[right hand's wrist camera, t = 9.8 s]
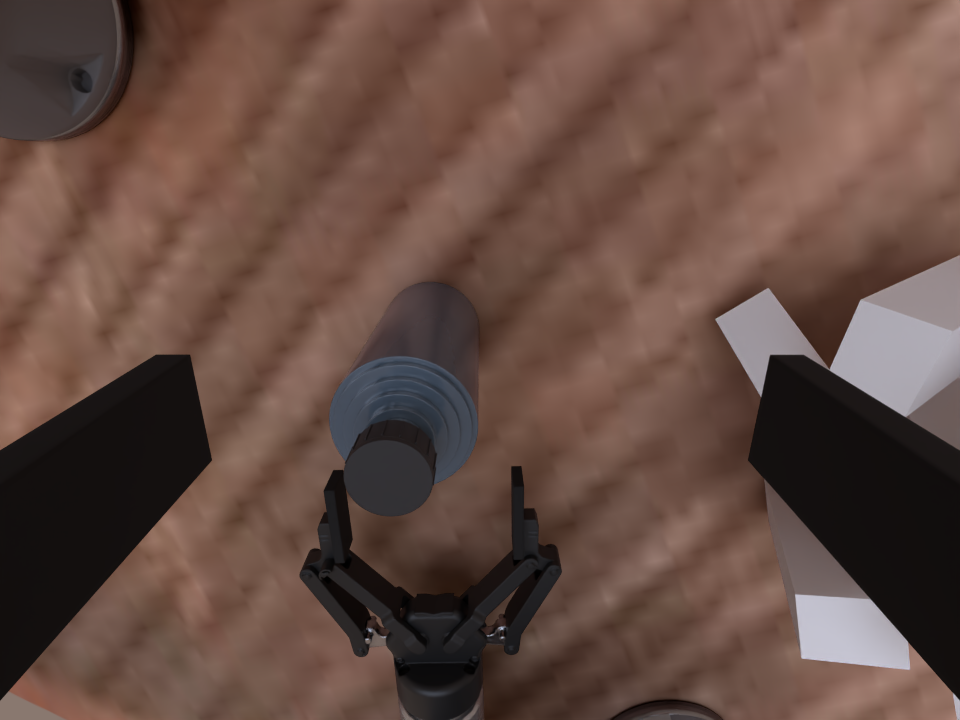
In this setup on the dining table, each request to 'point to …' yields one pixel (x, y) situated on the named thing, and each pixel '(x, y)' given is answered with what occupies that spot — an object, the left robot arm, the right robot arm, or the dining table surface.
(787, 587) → the pile of blocks
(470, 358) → the bottle
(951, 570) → the right robot arm
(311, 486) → the dining table surface
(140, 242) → the dining table surface
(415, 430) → the cap
